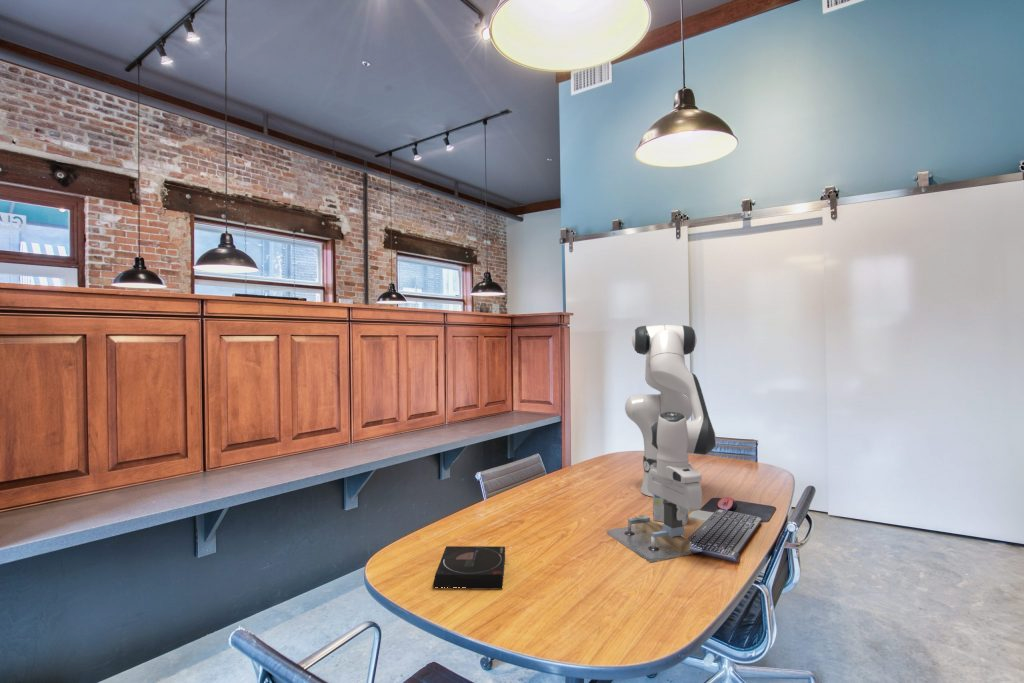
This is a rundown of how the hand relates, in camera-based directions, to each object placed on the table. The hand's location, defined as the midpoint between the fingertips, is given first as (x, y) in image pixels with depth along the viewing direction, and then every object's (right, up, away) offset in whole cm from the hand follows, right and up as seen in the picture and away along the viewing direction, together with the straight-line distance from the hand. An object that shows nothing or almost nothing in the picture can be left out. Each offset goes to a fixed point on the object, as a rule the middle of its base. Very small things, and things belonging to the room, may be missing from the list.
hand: (672, 516), depth 143 cm
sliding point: (-2, -8, -1) cm, 8 cm away
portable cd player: (-58, -10, -14) cm, 60 cm away
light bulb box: (+7, -9, +23) cm, 25 cm away
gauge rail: (-5, -8, +4) cm, 10 cm away
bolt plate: (-5, -9, +4) cm, 11 cm away
